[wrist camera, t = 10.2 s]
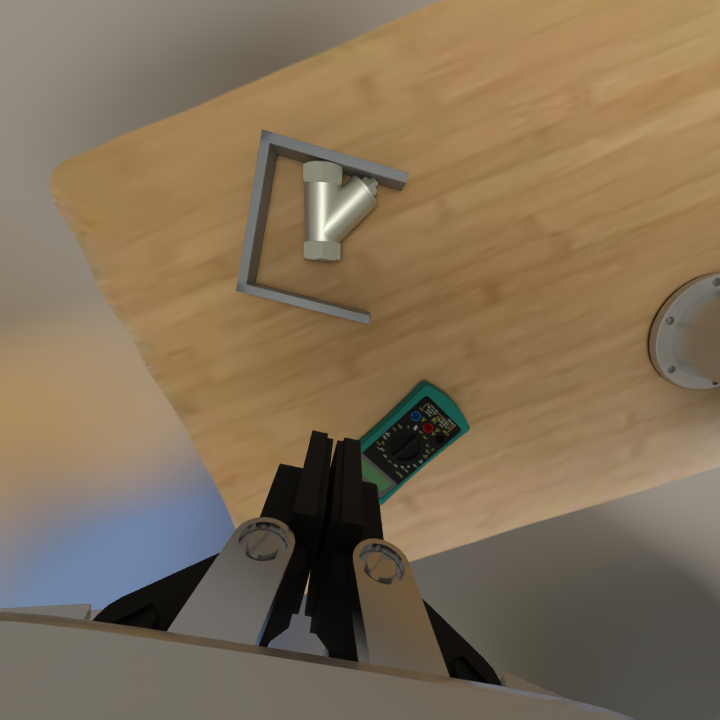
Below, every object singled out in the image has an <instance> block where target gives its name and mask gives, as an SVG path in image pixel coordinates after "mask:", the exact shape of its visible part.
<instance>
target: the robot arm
mask: <svg viewBox="0 0 720 720" xmlns="http://www.w3.org/2000/svg"><path fill="white" fill-rule="evenodd" d="M649 349H650V356H651V359H652V363H653V365H654V366H655V368H656V370H657V371H658V372H659V373H660V375H661V376H662V377H663V378H665V379H666V380H668V381H669V382H671V383H674V384H676V385H679V386H681V387H685V388H689V389H697V390H704V389H711V388H715V387H719V386H720V272H718V273H711V274H707V275H704V276H701V277H698V278H696V279H694V280H693V281H691V282H689V283H687V284H686V285H684V286H683V287H681V288H680V289H679V290H677V291H676V292H675V293H674V294H673V295H672V296H671V297H670V298H669V299H668V300H667V302H666V303H665V304H664V306H663V307H662V308H661V310H660V311H659V313H658V315H657V317H656V319H655V321H654V324H653V327H652V330H651V334H650V340H649ZM327 437H328V434H327V433H322V432H318V431H312V435H311V439H310V443H309V447H308V451H307V455H306V459H305V463H304V467H303V468H299V467H294V466H289V465H285V464H280V465H279V467H278V470H277V473H276V475H275V478H274V481H273V483H272V486H271V489H270V491H269V494H268V497H267V499H266V502H265V505H264V507H263V510H262V513H261V515H260V517H258V518H254V519H250V520H248V521H246V522H244V523H242V524H241V525H240V526H239V527H238V528H237V529H236V530H235V531H234V533H233V534H232V536H231V537H230V539H229V540H228V542H227V543H226V545H225V546H224V547H223V549H222V551H221V552H220V553H218V554H216V555H214V556H212V557H209V558H207V559H205V560H203V561H200V562H198V563H196V564H194V565H192V566H190V567H187V568H185V569H183V570H181V571H178V572H176V573H174V574H172V575H170V576H168V577H165V578H163V579H161V580H159V581H156V582H154V583H152V584H150V585H148V586H146V587H143V588H141V589H139V590H137V591H135V592H132V593H130V594H128V595H126V596H123V597H121V598H120V599H118V600H116V601H115V602H113V603H111V604H109V605H108V606H107V607H106V608H104V609H102V610H91V604H75V605H57V606H39V607H20V608H2V609H0V720H635V719H633V718H631V717H628V716H625V715H622V714H619V713H616V712H613V711H610V710H607V709H604V708H601V707H598V706H594V705H589V704H585V703H581V702H577V701H573V700H569V699H566V698H563V697H561V696H559V695H556V694H554V693H551V692H549V691H547V690H544V689H542V688H540V687H537V686H535V685H533V684H530V683H528V682H526V681H523V680H521V679H519V678H516V677H514V676H512V675H509V674H507V673H505V672H504V673H503V675H502V677H498V676H497V675H496V673H495V672H494V670H493V668H492V667H491V666H490V665H489V664H488V663H487V661H486V660H485V659H484V658H483V657H482V656H481V655H480V654H479V653H478V652H477V651H476V650H475V649H474V648H473V647H472V646H471V645H470V644H469V643H468V642H466V641H465V640H464V639H463V638H462V637H461V636H460V635H459V634H458V633H457V632H456V631H455V630H454V629H453V628H452V627H451V626H450V625H449V624H448V623H447V622H446V621H445V620H444V619H443V618H442V617H441V616H440V615H439V614H438V613H437V612H436V611H435V610H434V609H433V608H432V607H431V606H429V605H428V604H427V603H426V602H425V601H424V600H423V599H422V597H421V594H420V592H419V589H418V586H417V583H416V580H415V577H414V575H413V572H412V569H411V566H410V564H409V562H408V560H407V558H406V556H405V555H404V554H403V553H402V551H401V550H400V549H398V548H397V547H396V546H394V545H393V544H391V543H389V542H387V541H385V540H384V539H383V531H382V522H381V513H380V505H379V496H378V488H377V484H375V483H370V482H365V481H362V462H361V442H360V441H359V440H354V439H350V438H344V441H339V440H338V441H337V444H336V448H335V452H334V456H333V460H332V463H331V454H332V446H333V439H330V438H327ZM330 463H331V467H330ZM310 569H311V570H310ZM309 573H310V578H309V585H308V592H307V599H306V606H305V616H310V617H312V619H311V628H310V633H315V634H316V635H317V636H318V637H319V639H320V640H321V641H322V643H323V644H324V650H323V656H318V655H312V654H306V653H299V652H293V651H287V650H280V649H275V648H269V645H270V641H271V640H273V639H274V638H275V637H277V636H278V635H279V634H281V633H282V632H283V631H284V630H286V629H287V628H288V627H289V624H290V621H291V617H292V613H293V614H298V613H299V610H300V606H301V602H302V599H303V595H304V592H305V588H306V584H307V581H308V577H309Z"/></svg>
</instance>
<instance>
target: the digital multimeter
mask: <svg viewBox="0 0 720 720" xmlns="http://www.w3.org/2000/svg"><path fill="white" fill-rule="evenodd" d="M415 404H416V405H415ZM405 413H406V414H405ZM404 414H405V415H404ZM394 423H395V424H394ZM469 429H470V426H469V425H468V423H467V421H466V419H465V417H464V416H463V414H462V413H461V411H460V410H459V409H458V407H457V406H456V405H455V403H454V402H453V401H452V400H451V399H450V398H449V397H448V396H447V395H446V394H445V393H444V392H442V391H441V390H440V389H438V388H437V387H435V386H433V385H432V384H430V383H428V382H427V381H422V382H420V383H419V384H418V385H417V386H416V387H415V388H414V389H413V390H412V392H411V393H410V394H409V395H408V396H407V397H406V398H405V399H404V400H403V401H402V402H401V403H399V404H398V405H397V406H396V407H395V408H394V409H393V410H392V411H391V412H390V413H389V414H388V415H387V416H386V417H385V418H384V419H383V420H382V421H381V422H380V423H378V424H377V425H376V426H375V427H374V428H373V429H372V430H371V431H369V432H368V433H367V434H366V435H365V436H364V437H363V438H361V439H360V440H359V441H360V442H361V462H362V481H365V482H370V483H375V484H377V488H378V496H379V505H382V504H383V503H384V502H385V501H386V500H387V499H389V498H390V497H391V496H392V495H393V494H394V493H395V492H396V491H397V490H398V489H399V488H400V487H401V486H402V485H403V484H404V483H405V482H406V481H408V480H409V479H410V478H411V477H412V476H413V475H414V474H416V473H417V472H418V471H419V470H420V469H421V468H422V467H423V466H425V465H426V464H427V463H428V462H429V461H431V460H432V459H433V458H434V457H435V456H437V455H438V454H439V453H440V452H442V451H443V450H444V449H445V448H447V447H448V446H449V445H450V444H452V443H453V442H454V441H456V440H457V439H458V438H460V437H461V436H462V435H463V434H465V433H466V432H467V431H468V430H469ZM384 432H385V433H384ZM373 442H374V443H373ZM363 451H364V452H363ZM411 461H412V462H411ZM401 462H402V463H401Z"/></svg>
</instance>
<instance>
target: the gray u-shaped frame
mask: <svg viewBox="0 0 720 720" xmlns="http://www.w3.org/2000/svg"><path fill="white" fill-rule="evenodd" d="M277 155H280V156H283V157H287V158H290V159H293V160H297V161H300V162H304V163H307V162H310V161H327V162H332V163H336V164H338V165H340V166H342V174H345V175H348V176H353V175H355V176H357V177H359V178H360V179H363V178H364V177H367V178H368V179H370V178H375V179H376V181H377V182H378V184H379V185H383V186H386V187H390V188H393V189H397V190H400V191H401V190H402V189H403V187H404V185H405V184H406V181H407V178H408V174H409V173H407V172H403V171H400V170H397V169H393V168H390V167H387V166H383V165H380V164H376V163H373V162H370V161H366V160H363V159H360V158H356V157H353V156H350V155H346V154H343V153H339V152H336V151H333V150H329V149H326V148H323V147H319V146H316V145H312V144H309V143H306V142H302V141H299V140H296V139H292V138H289V137H285V136H282V135H279V134H275V133H272V132H269V131H265V130H262V133H261V139H260V145H259V151H258V158H257V164H256V170H255V176H254V183H253V189H252V195H251V201H250V207H249V214H248V220H247V226H246V232H245V239H244V245H243V251H242V257H241V264H240V270H239V276H238V282H237V289H236V291H239V292H243V293H247V294H251V295H255V296H259V297H263V298H267V299H271V300H275V301H279V302H283V303H287V304H291V305H295V306H299V307H303V308H307V309H311V310H314V311H318V312H322V313H326V314H330V315H334V316H338V317H342V318H346V319H350V320H354V321H358V322H362V323H366V324H369V321H370V317H371V316H370V313H369V312H366V311H362V310H358V309H354V308H350V307H346V306H342V305H338V304H334V303H330V302H327V301H323V300H319V299H315V298H311V297H307V296H303V295H299V294H295V293H291V292H288V291H284V290H280V289H276V288H272V287H268V286H264V285H260V284H256V283H255V281H256V276H257V270H258V264H259V258H260V253H261V247H262V241H263V235H264V229H265V224H266V218H267V212H268V206H269V201H270V195H271V189H272V183H273V178H274V172H275V166H276V160H277Z"/></svg>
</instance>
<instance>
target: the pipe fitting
mask: <svg viewBox="0 0 720 720" xmlns="http://www.w3.org/2000/svg"><path fill="white" fill-rule="evenodd" d="M303 183H304V199H305V241H304V259H305V260H320V261H340V253H341V244H340V241H341V240H342V239H343V238H344V237H345V236H346V235H347V234H348V233H349V232H350V231H351V230H352V229H353V228H354V227H356V226H357V225H358V224H359V223H360V222H361V221H362V220H363V219H364V218H365V217H366V216H367V215H368V214H369V213H370V212H371V211H372V210H373V209H374V208H375V207H376V206H377V201H376V198H375V197H374V195H375V194H376V193H377V189H376V187H377V186H378V182H377V181H376V179H375V178H370V179H368V178H367V177H364V178H363V179H362V180H361V179H360V178H359V177H357V176H355V175H353V176H352V177H351V178H350V179H349V180H348V181H347V182H346V183H345V184H344V185H343V186H342V166H340V165H338V164H336V163H332V162H327V161H310V162H307V163H305V164H303Z"/></svg>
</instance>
